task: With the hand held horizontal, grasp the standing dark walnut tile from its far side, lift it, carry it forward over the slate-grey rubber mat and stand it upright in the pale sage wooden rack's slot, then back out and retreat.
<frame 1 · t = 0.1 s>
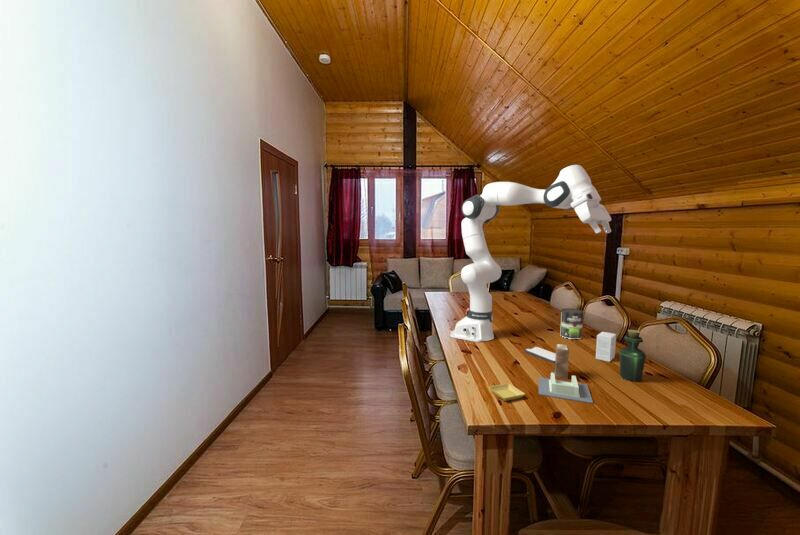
hand: (604, 232, 127), 54 cm above the table, tool tilted 30°, fingers open, 8 cm apart
potion bottle: (630, 378, 125), on the table
walnut tile: (560, 375, 128), on the table
small box: (605, 358, 146), on the table
yellow square tray: (506, 396, 113), on the table
coffee can: (570, 337, 176), on the table
rack: (563, 388, 116), resting on mat
mat: (563, 389, 116), on the table
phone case: (544, 357, 149), on the table
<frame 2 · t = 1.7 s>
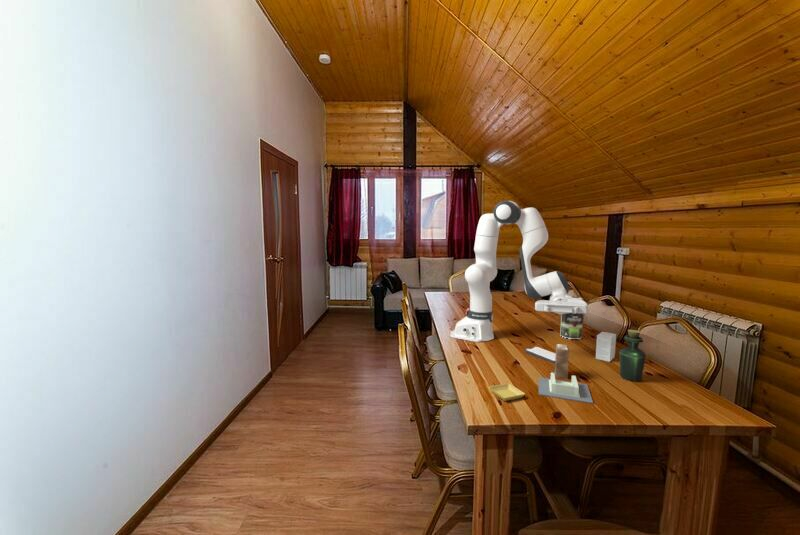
hand: (561, 310, 137), 22 cm above the table, tool horizontal, fingers open, 8 cm apart
nothing on the table moved.
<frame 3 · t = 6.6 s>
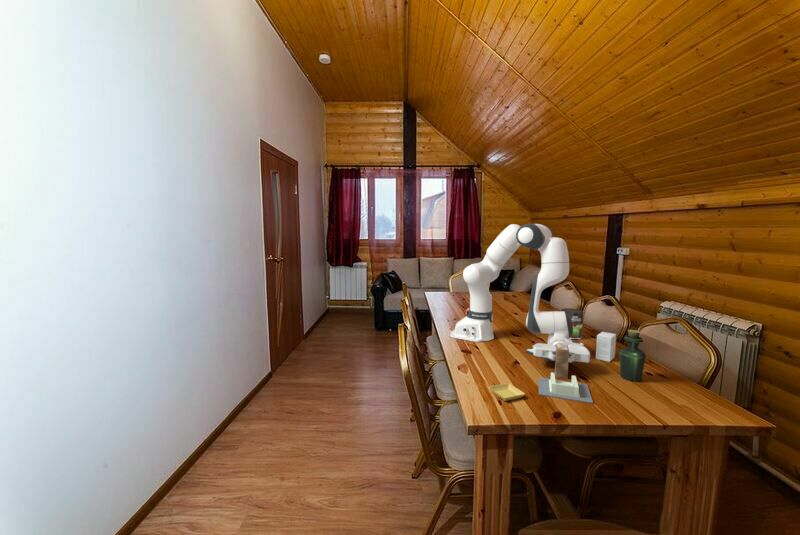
hand: (561, 359, 126), 7 cm above the table, tool horizontal, fingers closed on walnut tile, 4 cm apart
walnut tile: (560, 375, 128), on the table, touching gripper
everything else where it was.
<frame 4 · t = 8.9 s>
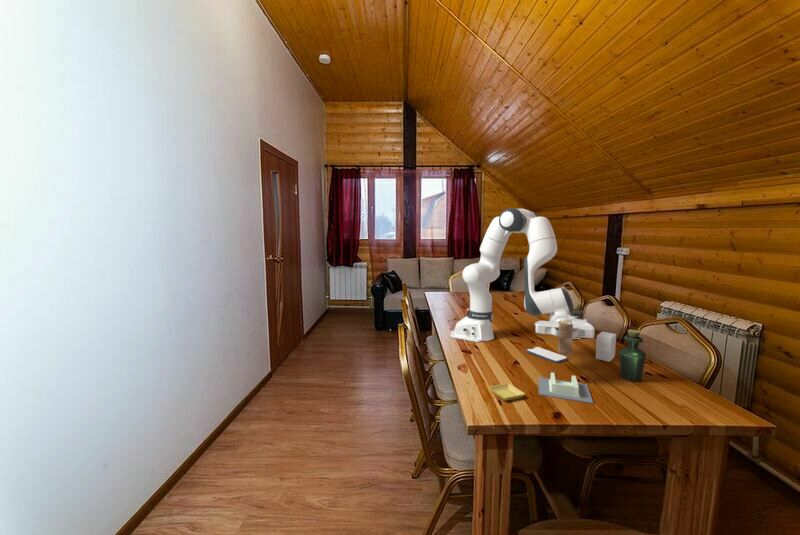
hand: (565, 334, 122), 17 cm above the table, tool horizontal, fingers closed on walnut tile, 4 cm apart
walnut tile: (564, 351, 123), point 11 cm above the table, touching gripper
everything else where it was.
when the fingers open (8 cm above the table, at t = 11.6 s): walnut tile stays where it is, resting on rack.
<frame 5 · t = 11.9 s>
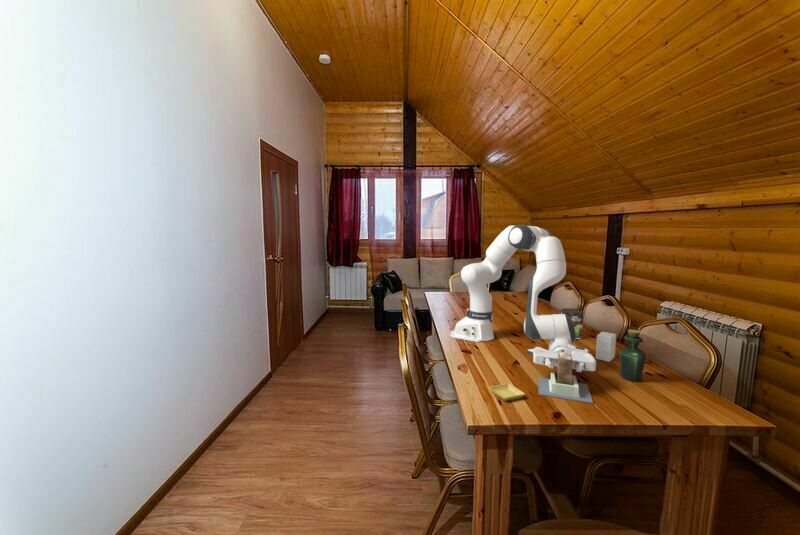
hand: (564, 368, 114), 8 cm above the table, tool horizontal, fingers open, 7 cm apart
walnut tile: (563, 387, 116), point 1 cm above the table, touching rack
everything else where it was.
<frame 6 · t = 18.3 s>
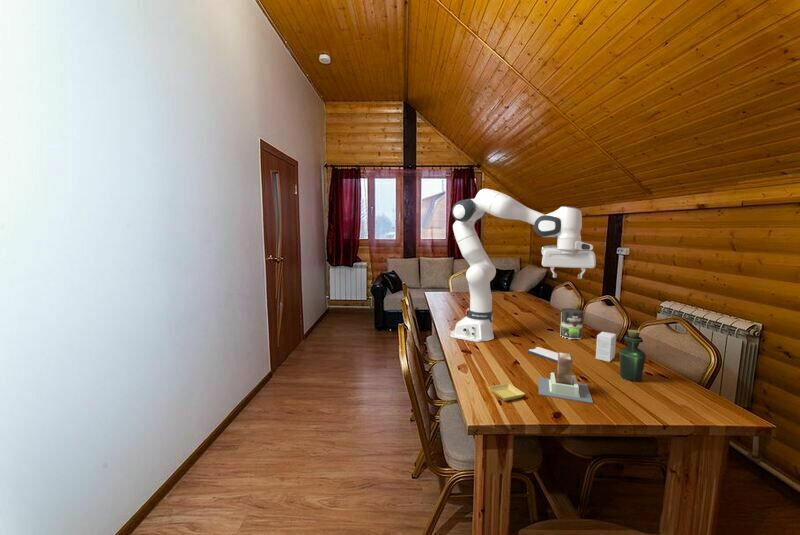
hand: (567, 278, 141), 35 cm above the table, tool pointing down, fingers open, 8 cm apart
at the end: walnut tile 0.1 cm off-centre on the rack, point 0.5 cm above the rack's base; walnut tile tilted 0°; the gripper is holding nothing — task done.
